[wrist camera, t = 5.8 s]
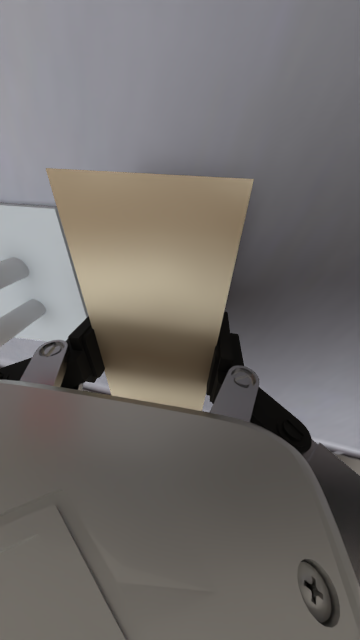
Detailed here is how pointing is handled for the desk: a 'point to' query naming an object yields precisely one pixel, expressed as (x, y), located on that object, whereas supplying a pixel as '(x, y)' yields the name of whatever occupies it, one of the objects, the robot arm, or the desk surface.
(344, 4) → the desk surface
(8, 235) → the peg stand
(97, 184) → the tan tapered block
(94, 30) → the desk surface
